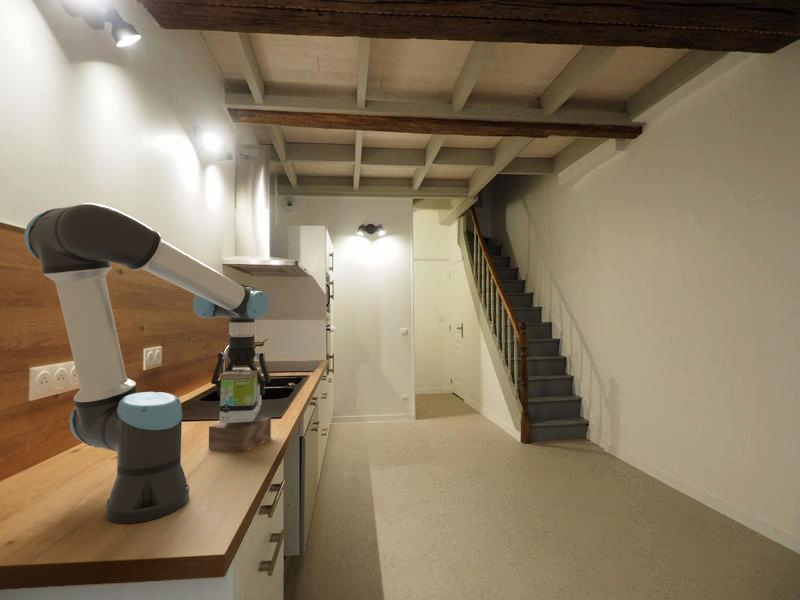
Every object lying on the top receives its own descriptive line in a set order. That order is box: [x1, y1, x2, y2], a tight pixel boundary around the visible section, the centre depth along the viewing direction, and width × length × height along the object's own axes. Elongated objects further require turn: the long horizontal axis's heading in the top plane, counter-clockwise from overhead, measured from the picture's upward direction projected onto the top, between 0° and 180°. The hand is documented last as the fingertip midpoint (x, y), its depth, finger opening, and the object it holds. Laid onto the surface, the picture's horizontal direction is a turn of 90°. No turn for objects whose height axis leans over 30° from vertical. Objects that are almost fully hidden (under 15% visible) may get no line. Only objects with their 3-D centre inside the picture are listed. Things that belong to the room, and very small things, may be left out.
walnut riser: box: [208, 415, 272, 454], centre depth 125 cm, size 14×12×7 cm
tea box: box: [218, 366, 262, 423], centre depth 125 cm, size 15×10×15 cm, turn 13°
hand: (241, 405), depth 125 cm, fingers closed on tea box, 10 cm apart
